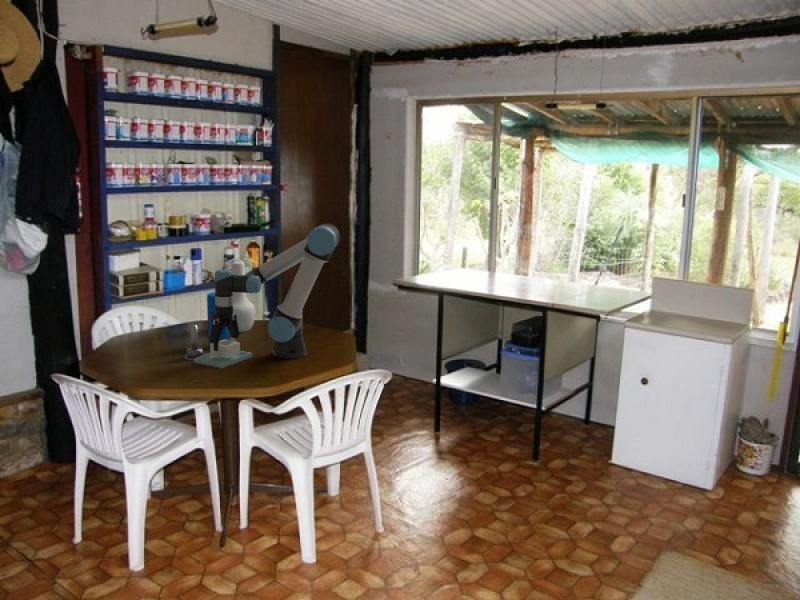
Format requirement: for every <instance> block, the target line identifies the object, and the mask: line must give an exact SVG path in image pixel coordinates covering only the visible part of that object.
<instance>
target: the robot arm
mask: <svg viewBox="0 0 800 600" xmlns="http://www.w3.org/2000/svg"><path fill="white" fill-rule="evenodd" d="M340 235H341V234H340V231H339V229H338V227H336V226H335V225H333V224H331V223H322V224H320V225H318V226H316V227H314V228H313V229H312V230H311V231H310V232H309V233H308V234H307V235H306V238H305V239H303V240H301V241H300V242H298V243H296V244H295V245H293V246H291V247H290V248H288V249H286V250H284V251H282V252H281V253H279V254H278V255H276V256H274V257H272V258H271V259H269V260H268V261H265V262H264V263H262V264H260V265H259V266H257V267H255V268H254V269H251V270H249V271H248V272H247V273H244V275H233V273H232V269H217V270H215V272H214V280H213V281H214V292H215V304H216V306H215V312H216V315H217V319H216V320H212V329H211V336H210V343H213V344H214V354H215V357H216V358H221V356H220V343H219V340H220V337H221V334H222V331H223V329H224V327H225V326H227V328H228V331H229V333H230V335H231V337H232V338H230V341H235V342H237V339H238V338H239V336H241V335H240V334H241V332H239V328H238V323H237V315H232V314H233V306H232V305H233V292H240V293H245V294H258V293H259V292H260V291H261V289H262V285H263V284H264V283H266V282H268V281H270V280H271V279H273V278H274V277H276V276H278V275H280V274H281V273H283V272H285V271H288V270H289V269H291V268H292V267H295V266H296V265H297V264H299V263H300V265H299V268H298V270H297V272H296V274H295V276H294V278H293V281H292V282H291V283H292V284H291V285H290V287H289V289H288V292H287V294H286V297H285V298H284V301H283V303H281V304H278V305H277V306H276V309H275V312H274V313H273V316H272V318H271V319H270V320H269V321H268V324H267V332H268V335H269V337H270V338H272V339H273V340H274V341H275V343H274V345H273V350H272V355H273V357H275V358H279V359H285V360H286V359H288V360H289V359H290V360H292V359H293V360H294V359H300V358H303V357H305V356H307V347H306V344H305V341H304V337H303V327H304V326H303V325H304V323H303V314H304V311H303V309H304V307H305V304H306V302H307V300H308V297H309V296H310V294H311V291H312V289H313V287H314V285H315V283H316V281H317V279H318V277H319V274H320V272H321V271H322V268H323V266H324V264H325V263H329V261H330V259H331V257H332V256H333V255H332V254H333V252H334V251H335V248H336V247H337V246H338V245H339V242H340V239H341V236H340ZM216 340H217V341H216Z"/></svg>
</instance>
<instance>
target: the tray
mask: <svg viewBox="0 0 800 600" xmlns="http://www.w3.org/2000/svg"><path fill="white" fill-rule="evenodd" d="M251 358H253V353H252V352H249V351H243V350H240V353H239V354H237V355H234V356H231V357H228V358H223V357H221V358H216V357H215V356H213V355H210V352H209V353H206V354H204V355H203V356H200V357H197V358H194V361H193V362H194V364H198V365H201V366H206V367H207V366H208V367H212V368H216V369H224V368H227V367H230V366H233V365H235V364H237V363H240V362H241V363H242V362H243V361H246V360H248V359H249V360H250V359H251Z"/></svg>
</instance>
